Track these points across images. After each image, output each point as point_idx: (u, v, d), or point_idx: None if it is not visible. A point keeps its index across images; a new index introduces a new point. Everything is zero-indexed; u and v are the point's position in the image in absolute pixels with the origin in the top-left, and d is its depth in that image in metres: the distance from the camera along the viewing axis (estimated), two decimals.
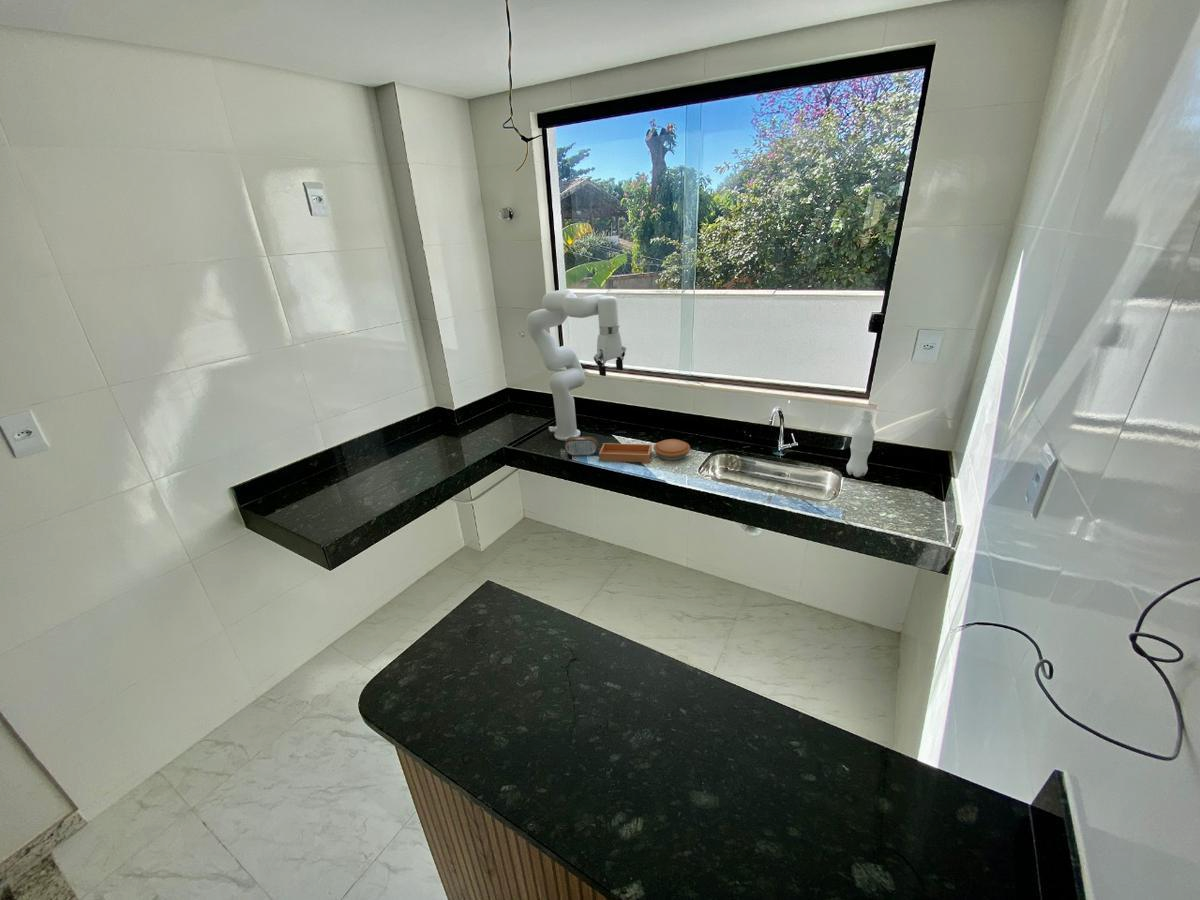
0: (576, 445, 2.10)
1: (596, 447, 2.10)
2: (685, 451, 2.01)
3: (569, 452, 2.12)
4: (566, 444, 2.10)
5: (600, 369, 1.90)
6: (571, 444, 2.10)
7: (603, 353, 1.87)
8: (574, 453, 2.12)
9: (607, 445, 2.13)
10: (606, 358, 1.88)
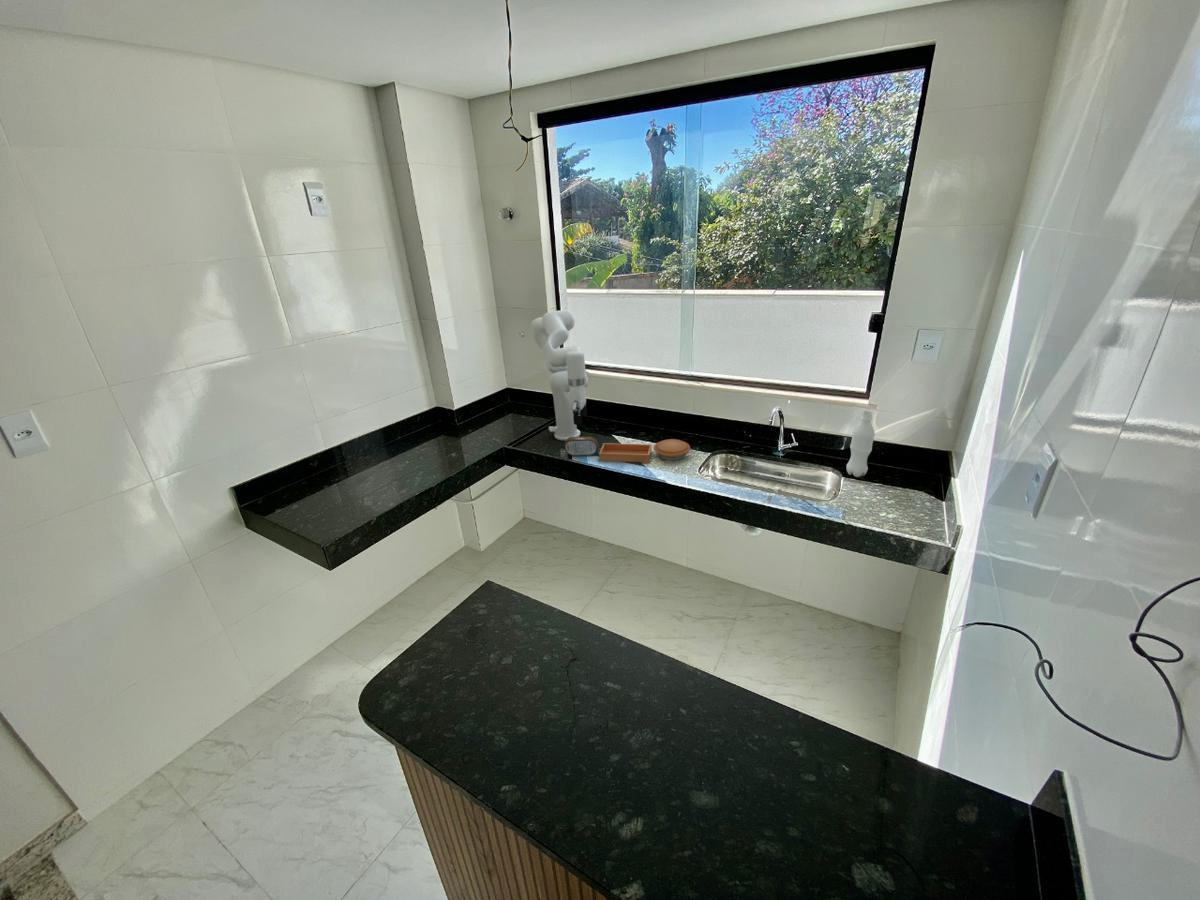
0: (576, 445, 2.10)
1: (596, 447, 2.10)
2: (685, 451, 2.01)
3: (569, 452, 2.12)
4: (566, 444, 2.10)
5: (576, 419, 1.99)
6: (571, 444, 2.10)
7: (579, 403, 1.97)
8: (574, 453, 2.12)
9: (607, 445, 2.13)
10: (581, 407, 1.98)
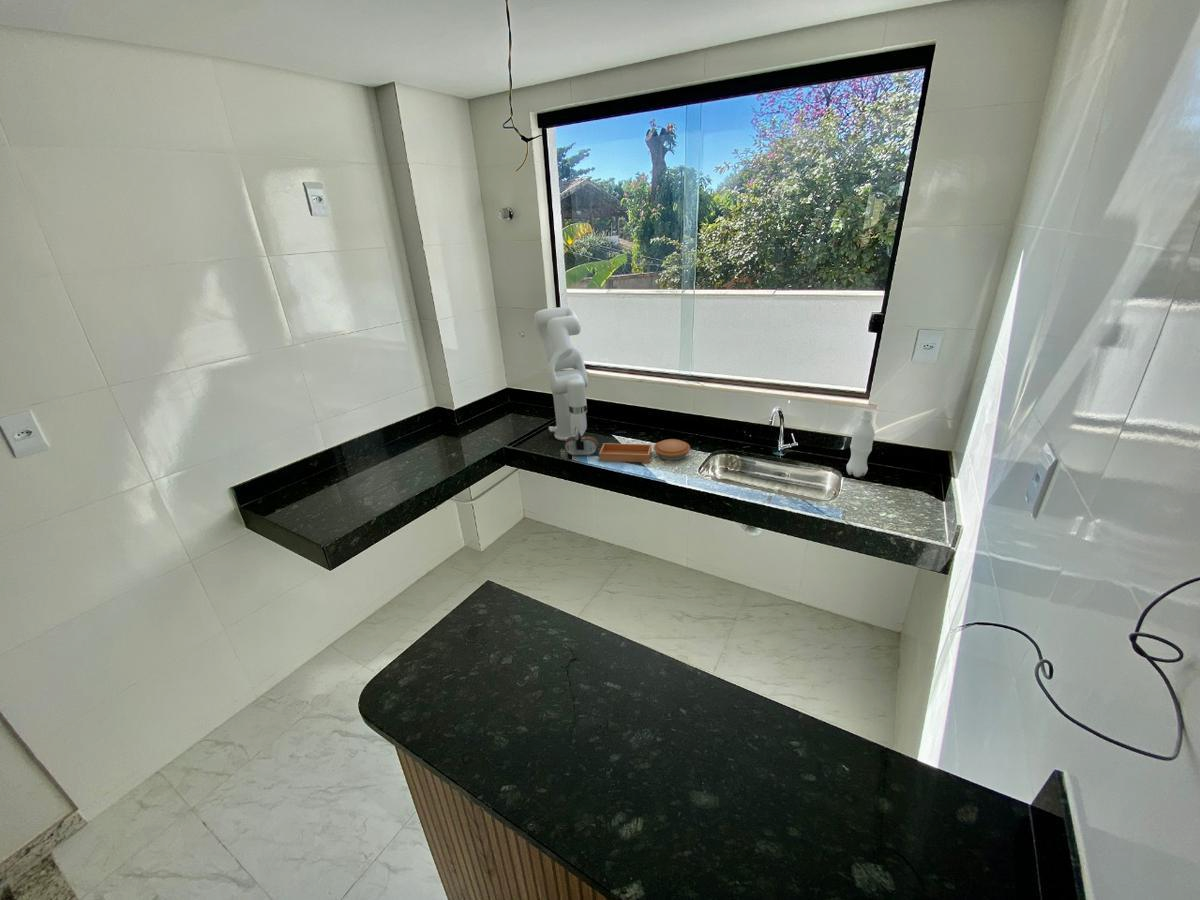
0: None
1: (596, 447, 2.10)
2: (685, 451, 2.01)
3: (569, 452, 2.12)
4: (566, 444, 2.10)
5: (579, 444, 2.08)
6: (571, 444, 2.10)
7: (579, 430, 2.02)
8: (574, 453, 2.12)
9: (607, 445, 2.13)
10: (582, 434, 2.04)
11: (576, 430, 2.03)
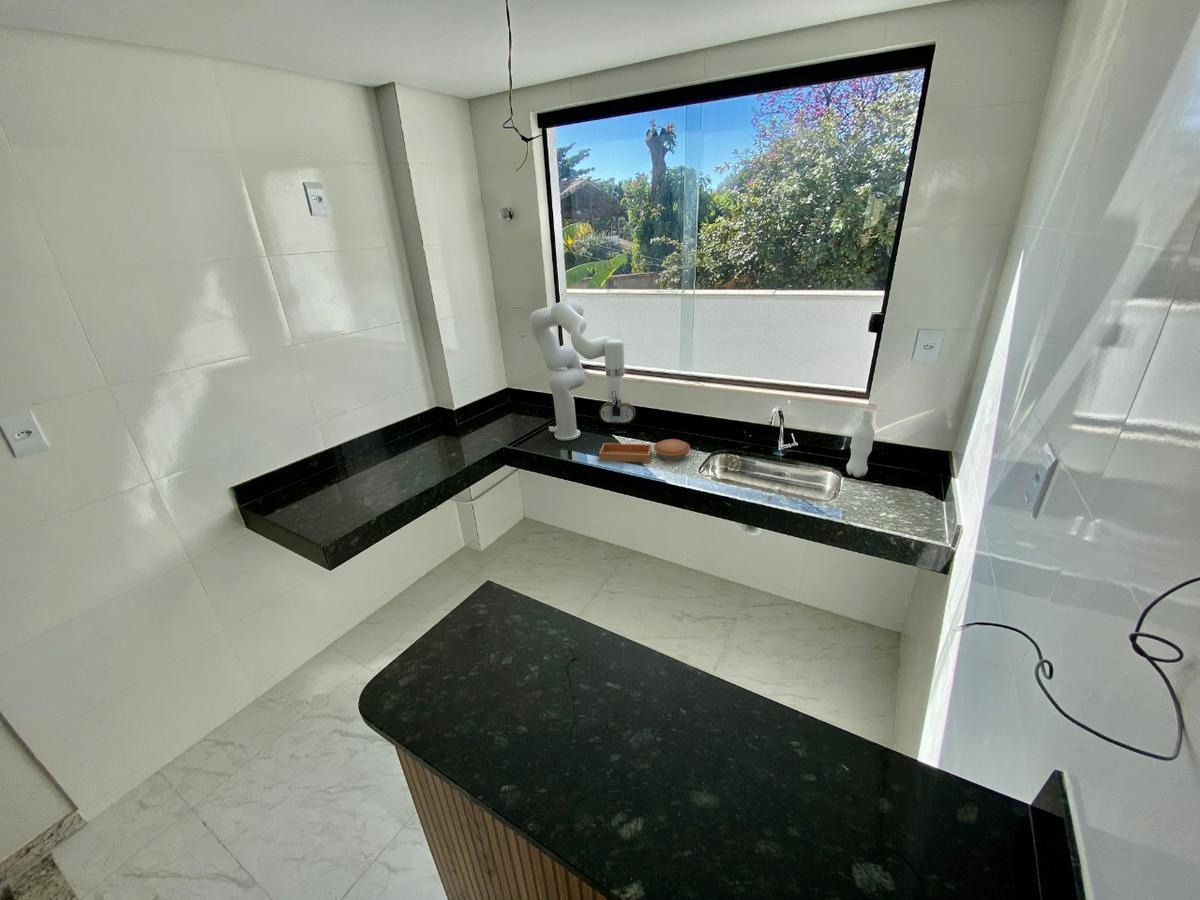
0: None
1: (633, 414, 1.98)
2: (685, 451, 2.01)
3: (604, 419, 2.02)
4: (601, 409, 2.00)
5: (615, 410, 1.98)
6: (606, 410, 2.00)
7: (617, 394, 1.92)
8: (609, 420, 2.02)
9: (607, 445, 2.13)
10: (619, 398, 1.93)
11: (613, 394, 1.92)
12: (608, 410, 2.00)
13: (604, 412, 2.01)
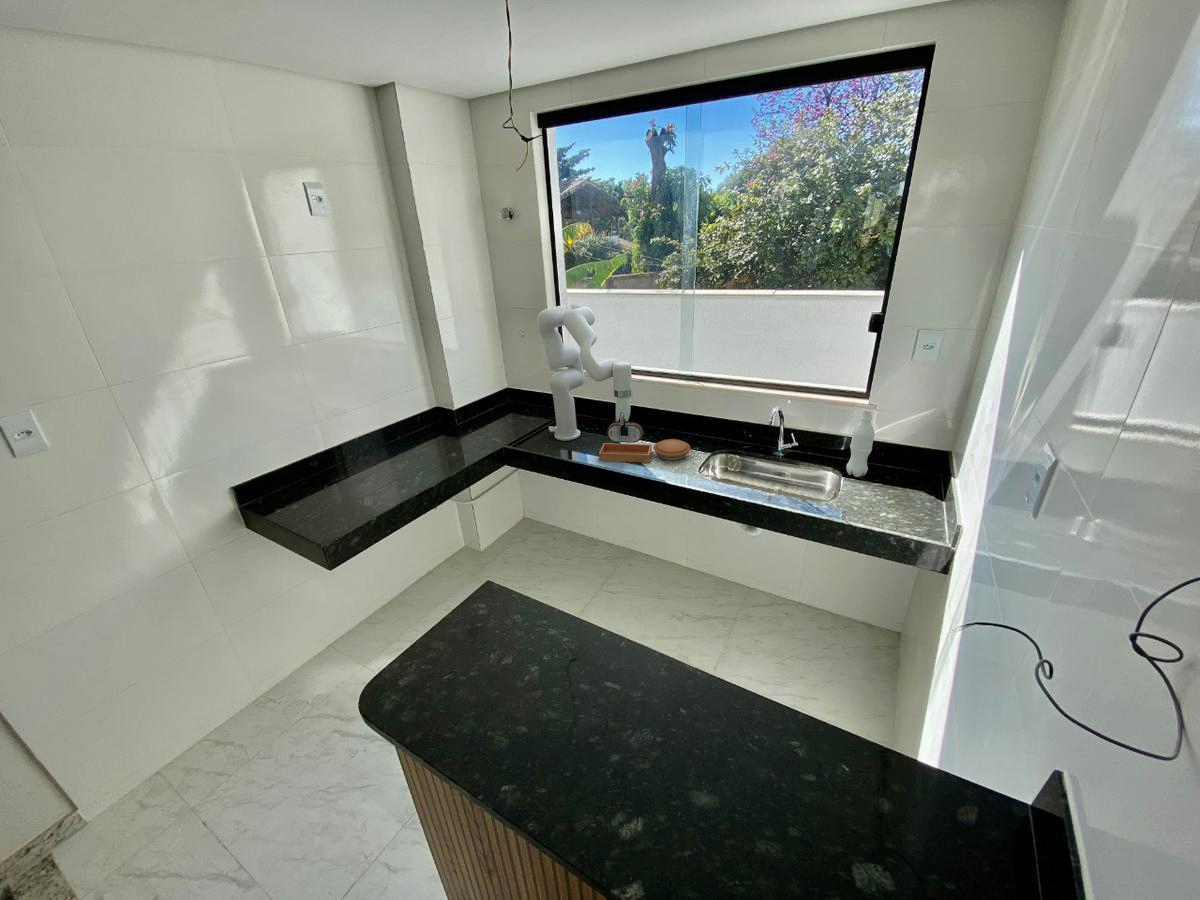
0: (619, 431, 2.03)
1: (640, 434, 2.02)
2: (685, 451, 2.01)
3: (612, 438, 2.05)
4: (609, 429, 2.04)
5: (623, 430, 2.01)
6: (614, 430, 2.03)
7: (625, 415, 1.95)
8: (617, 439, 2.05)
9: (607, 445, 2.13)
10: (627, 419, 1.97)
11: (621, 415, 1.96)
12: (616, 430, 2.03)
13: (612, 432, 2.04)
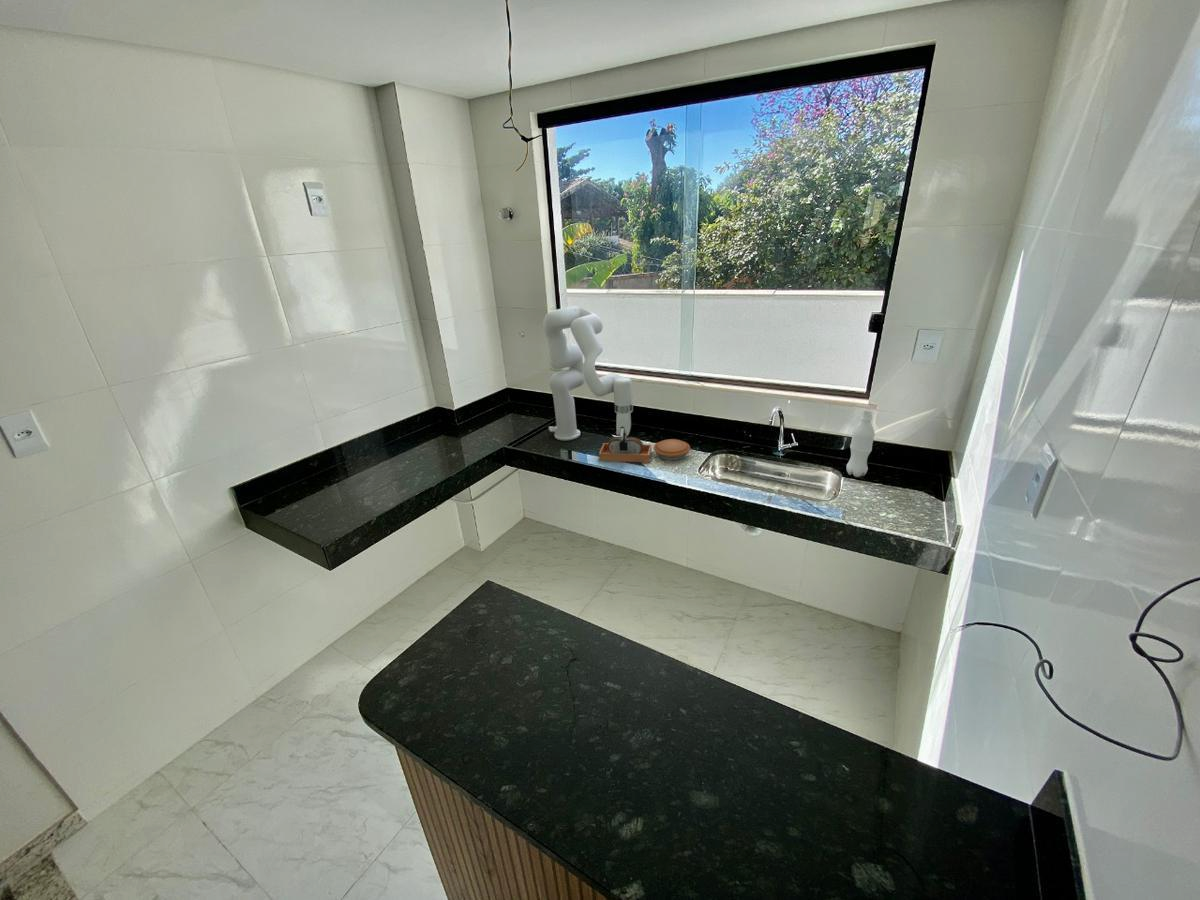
0: None
1: (640, 448, 2.04)
2: (685, 451, 2.01)
3: (613, 452, 2.08)
4: (610, 444, 2.06)
5: (622, 445, 2.01)
6: (615, 444, 2.06)
7: (625, 430, 1.98)
8: None
9: (607, 445, 2.13)
10: (627, 434, 1.99)
11: None
12: (616, 444, 2.06)
13: (612, 446, 2.06)
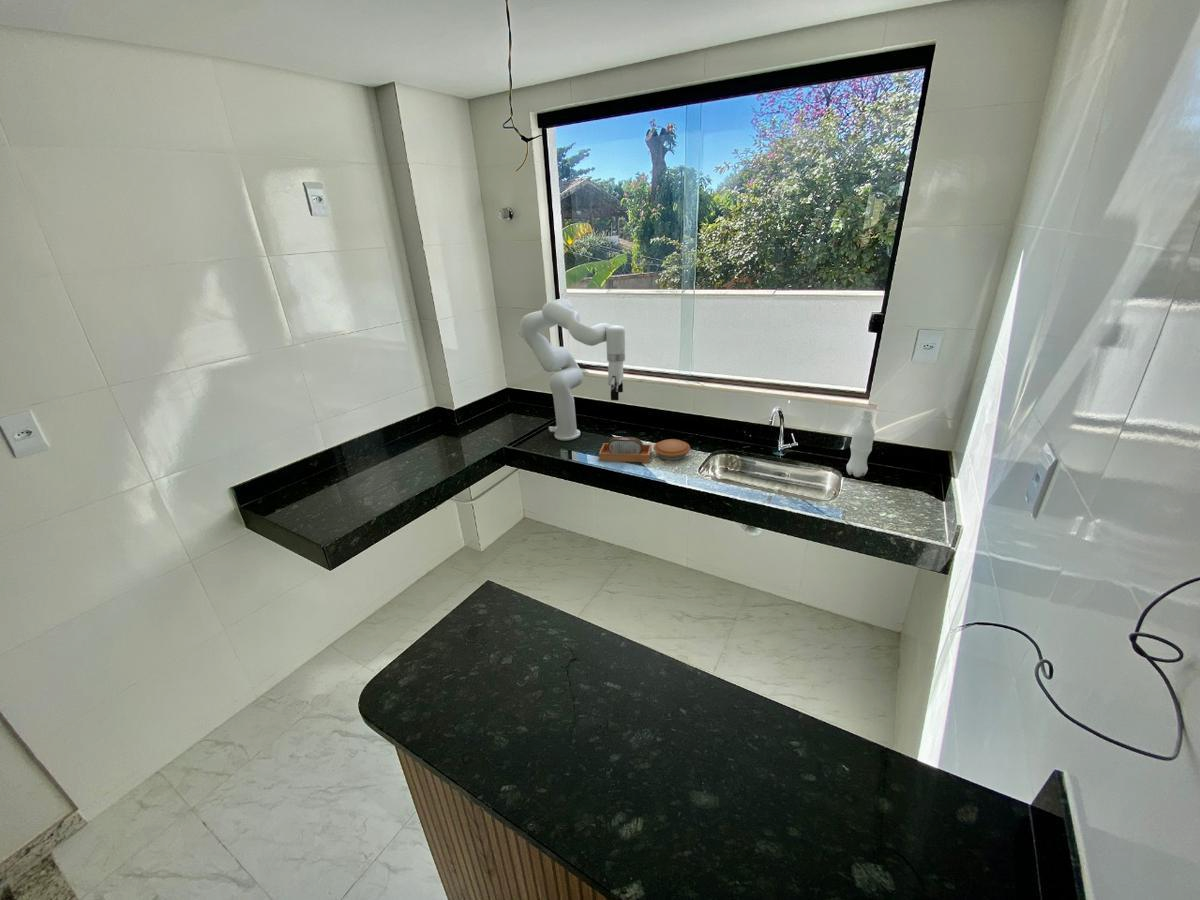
0: (620, 446, 2.06)
1: (640, 448, 2.04)
2: (685, 451, 2.01)
3: (613, 452, 2.08)
4: (610, 444, 2.06)
5: (614, 394, 2.00)
6: (615, 444, 2.06)
7: (617, 379, 1.97)
8: None
9: (607, 445, 2.13)
10: (619, 383, 1.99)
11: None
12: (616, 444, 2.06)
13: (612, 446, 2.06)
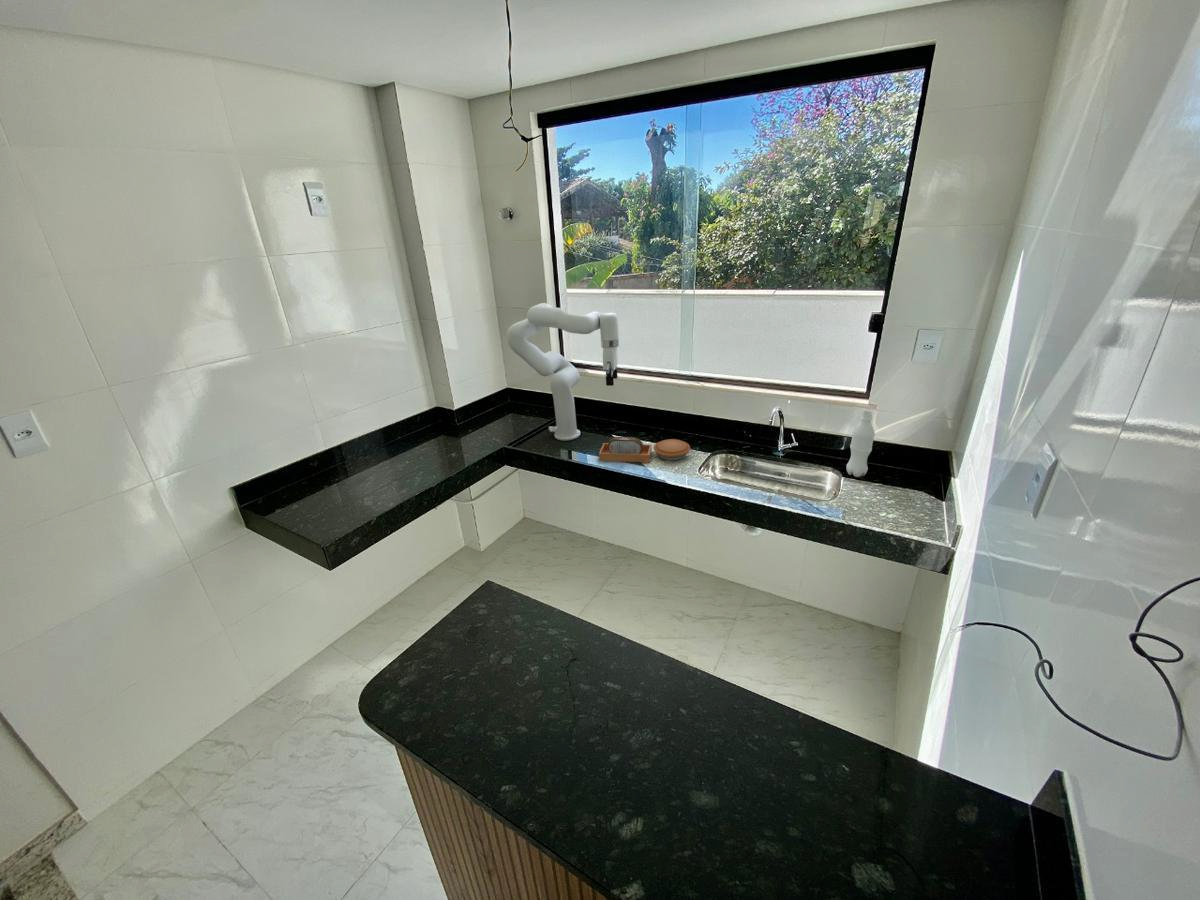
0: (620, 446, 2.06)
1: (640, 448, 2.04)
2: (685, 451, 2.01)
3: (613, 452, 2.08)
4: (610, 444, 2.06)
5: (609, 380, 2.06)
6: (615, 444, 2.06)
7: (611, 364, 2.04)
8: None
9: (607, 445, 2.13)
10: (614, 369, 2.05)
11: None
12: (616, 444, 2.06)
13: (612, 446, 2.06)
